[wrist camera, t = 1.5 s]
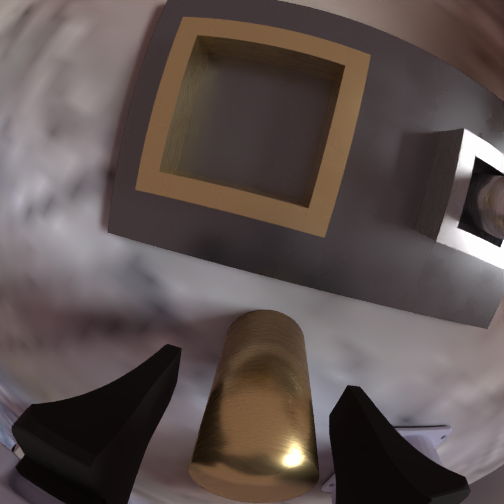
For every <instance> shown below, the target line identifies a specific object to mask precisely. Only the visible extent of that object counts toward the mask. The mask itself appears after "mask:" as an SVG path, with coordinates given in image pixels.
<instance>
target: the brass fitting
mask: <svg viewBox="0 0 504 504" xmlns="http://www.w3.org/2000/svg"><path fill="white" fill-rule="evenodd" d="M189 474H190V476H191V477H192V479H193V480H194V481H195V482H196V483H197V484H198V485H199V486H201V487H202V488H204V489H205V490H207V491H209V492H211V493H213V494H216V495H218V496H221V497H224V498H228V499H232V500H236V501H243V502H252V503H269V502H278V501H284V500H288V499H292V498H295V497H298V496H300V495H302V494H304V493H306V492H308V491H309V490H311V489H312V488H313V487H314V486H315V485H316V484H317V482H318V480H319V467H318V456H317V445H316V434H315V425H314V415H313V406H312V397H311V388H310V380H309V372H308V364H307V356H306V349H305V341H304V335H303V332H302V330H301V328H300V327H299V325H298V324H297V323H296V322H295V321H294V320H293V319H292V318H290V317H289V316H287V315H285V314H283V313H280V312H277V311H272V310H257V311H252V312H249V313H247V314H244V315H243V316H241V317H239V318H238V319H237V320H236V321H235V322H234V323H233V324H232V325H231V327H230V328H229V330H228V333H227V336H226V340H225V343H224V347H223V350H222V353H221V357H220V360H219V364H218V367H217V371H216V374H215V377H214V381H213V384H212V388H211V391H210V395H209V398H208V402H207V405H206V408H205V412H204V415H203V419H202V422H201V426H200V429H199V433H198V436H197V439H196V443H195V446H194V450H193V453H192V457H191V460H190V464H189Z"/></svg>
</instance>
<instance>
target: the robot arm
mask: <svg viewBox="0 0 504 504" xmlns="http://www.w3.org/2000/svg"><path fill="white" fill-rule="evenodd" d="M181 351H182V348H179V347H176V346H173V345H170V344H167V345H165V346H164V347H163V348H161V349H160V350H159V351H158V352H157V353H155V354H154V355H153V356H152V357H150V358H149V359H148V360H146V361H145V362H144V363H142V364H141V365H139V366H138V367H137V368H135V369H134V370H132V371H130V372H129V373H127V374H125V375H124V376H122V377H121V378H119V379H117V380H115V381H113V382H111V383H109V384H107V385H105V386H103V387H101V388H98V389H96V390H93V391H91V392H88V393H86V394H83V395H80V396H76V397H72V398H69V399H65V400H61V401H55V402H49V403H41V404H32V405H31V406H30V407H29V408H27V409H26V410H25V411H24V413H23V414H22V415H21V416H20V417H19V419H18V420H17V421H16V422H15V423H14V425H13V426H12V433H13V436H14V438H15V439H16V441H17V443H18V445H19V446H20V448H21V449H22V451H23V453H24V454H25V455H24V456H23V458H22V459H20V458H19V457H18V456H17V455H16V454H15V453H13V452H12V451H11V450H10V449H8V448H7V447H6V446H5V445H3V444H2V443H1V442H0V504H128V500H129V497H130V494H131V491H132V488H133V485H134V481H135V478H136V476H137V473H138V470H139V467H140V464H141V461H142V459H143V456H144V453H145V451H146V448H147V446H148V443H149V441H150V439H151V437H152V435H153V433H154V431H155V429H156V427H157V426H158V424H159V422H160V420H161V418H162V416H163V414H164V412H165V410H166V408H167V406H168V404H169V402H170V400H171V397H172V395H173V392H174V389H175V386H176V383H177V378H178V371H179V364H180V357H181ZM451 432H452V429H451V427H450V426H445V427H426V428H394V427H393V426H392V425H391V424H390V423H389V422H388V420H387V419H386V418H385V417H384V416H383V414H382V413H381V412H380V411H379V409H378V408H377V407H376V406H375V404H374V403H373V402H372V401H371V399H370V398H369V397H368V396H367V395H366V393H365V392H364V391H363V390H362V389H361V388H360V387H358V386H350V385H347V387H346V389H345V391H344V392H343V394H342V396H341V397H340V399H339V401H338V402H337V404H336V405H335V407H334V409H333V410H332V412H331V413H330V415H329V435H330V442H331V449H332V456H333V463H334V470H335V474H334V475H333V476H332V477H331V478H330V479H329V480H328V481H327V482H326V483H325V484H324V485H323V486H322V487H321V490H322V491H323V492H331V497H332V504H459V503H461V502H462V501H463V500H464V499H466V497H467V496H468V495H469V493H470V491H471V490H470V488H469V485H468V482H467V480H466V478H465V477H464V476H462V475H459V474H457V473H455V472H452V471H450V470H448V469H446V468H444V467H443V466H442V463H441V461H440V458H439V456H438V454H437V451H436V449H437V447H438V446H439V445H440V444H441V443H442V442H443V441H444V440H445V439H446V438H447V436H448V435H449V434H450V433H451Z"/></svg>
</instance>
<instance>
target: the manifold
mask: <svg viewBox="0 0 504 504" xmlns="http://www.w3.org/2000/svg"><path fill="white" fill-rule="evenodd" d="M108 233H111V234H115V235H118V236H122V237H125V238H129V239H132V240H136V241H139V242H143V243H146V244H150V245H153V246H157V247H160V248H164V249H167V250H171V251H175V252H178V253H182V254H185V255H189V256H193V257H196V258H200V259H204V260H207V261H211V262H215V263H218V264H222V265H226V266H230V267H233V268H237V269H241V270H245V271H248V272H252V273H256V274H260V275H264V276H267V277H271V278H275V279H279V280H283V281H287V282H291V283H295V284H298V285H302V286H306V287H310V288H314V289H318V290H322V291H326V292H330V293H334V294H338V295H342V296H346V297H350V298H355V299H359V300H363V301H367V302H371V303H375V304H379V305H384V306H388V307H392V308H396V309H401V310H405V311H409V312H413V313H418V314H422V315H426V316H431V317H435V318H440V319H444V320H449V321H453V322H458V323H462V324H467V325H471V326H476V327H481V328H485V329H487V328H488V326H489V324H490V322H491V320H492V318H493V316H494V314H495V312H496V310H497V308H498V306H499V303H500V301H501V299H502V297H503V294H504V102H503V101H502V100H501V99H500V98H498V97H497V96H496V95H494V94H493V93H492V92H490V91H489V90H488V89H486V88H485V87H483V86H482V85H481V84H479V83H478V82H476V81H475V80H473V79H472V78H470V77H469V76H467V75H466V74H464V73H463V72H461V71H459V70H458V69H456V68H455V67H453V66H451V65H450V64H448V63H446V62H444V61H443V60H441V59H439V58H437V57H436V56H434V55H432V54H430V53H428V52H426V51H424V50H422V49H420V48H418V47H416V46H414V45H412V44H410V43H408V42H406V41H404V40H402V39H399V38H397V37H395V36H393V35H390V34H388V33H386V32H383V31H381V30H378V29H376V28H373V27H371V26H368V25H365V24H363V23H360V22H357V21H354V20H351V19H348V18H345V17H342V16H339V15H336V14H332V13H329V12H325V11H322V10H318V9H314V8H310V7H306V6H302V5H297V4H293V3H288V2H283V1H278V0H167V2H166V5H165V7H164V9H163V12H162V14H161V16H160V19H159V21H158V24H157V26H156V29H155V31H154V34H153V37H152V39H151V42H150V45H149V47H148V50H147V53H146V56H145V59H144V62H143V65H142V68H141V71H140V74H139V78H138V81H137V84H136V88H135V91H134V95H133V98H132V102H131V106H130V109H129V113H128V117H127V121H126V126H125V130H124V134H123V139H122V143H121V148H120V153H119V158H118V164H117V169H116V175H115V181H114V187H113V194H112V201H111V208H110V216H109V225H108Z"/></svg>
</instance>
